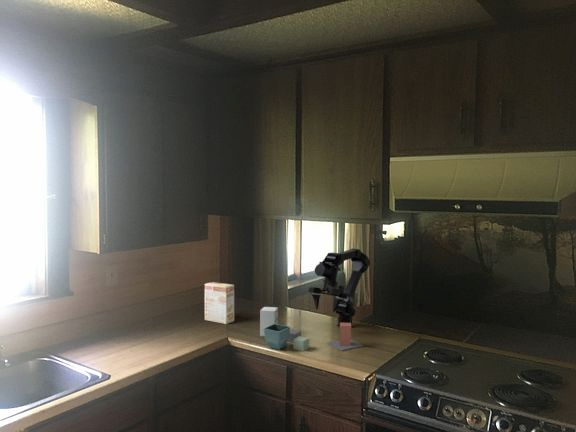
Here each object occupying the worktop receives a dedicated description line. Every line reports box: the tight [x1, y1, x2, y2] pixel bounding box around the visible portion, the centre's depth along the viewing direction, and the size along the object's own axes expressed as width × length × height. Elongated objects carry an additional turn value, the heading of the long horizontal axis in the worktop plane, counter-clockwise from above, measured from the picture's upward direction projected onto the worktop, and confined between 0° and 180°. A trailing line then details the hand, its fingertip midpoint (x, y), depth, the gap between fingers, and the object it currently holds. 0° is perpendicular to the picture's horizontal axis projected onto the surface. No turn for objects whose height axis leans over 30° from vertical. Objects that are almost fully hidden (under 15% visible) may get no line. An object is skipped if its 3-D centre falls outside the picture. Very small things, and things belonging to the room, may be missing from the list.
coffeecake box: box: [204, 281, 235, 325], centre depth 262 cm, size 15×7×20 cm, turn 58°
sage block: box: [292, 336, 310, 352], centre depth 220 cm, size 5×5×4 cm
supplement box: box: [259, 306, 279, 337], centre depth 239 cm, size 7×7×13 cm
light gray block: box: [287, 329, 302, 344], centre depth 230 cm, size 5×5×4 cm
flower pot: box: [264, 323, 291, 350], centre depth 221 cm, size 9×9×9 cm
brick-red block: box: [339, 323, 352, 346], centre depth 224 cm, size 5×5×9 cm
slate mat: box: [326, 339, 364, 352], centre depth 225 cm, size 12×11×1 cm
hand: (325, 310), depth 240 cm, fingers open, 9 cm apart
